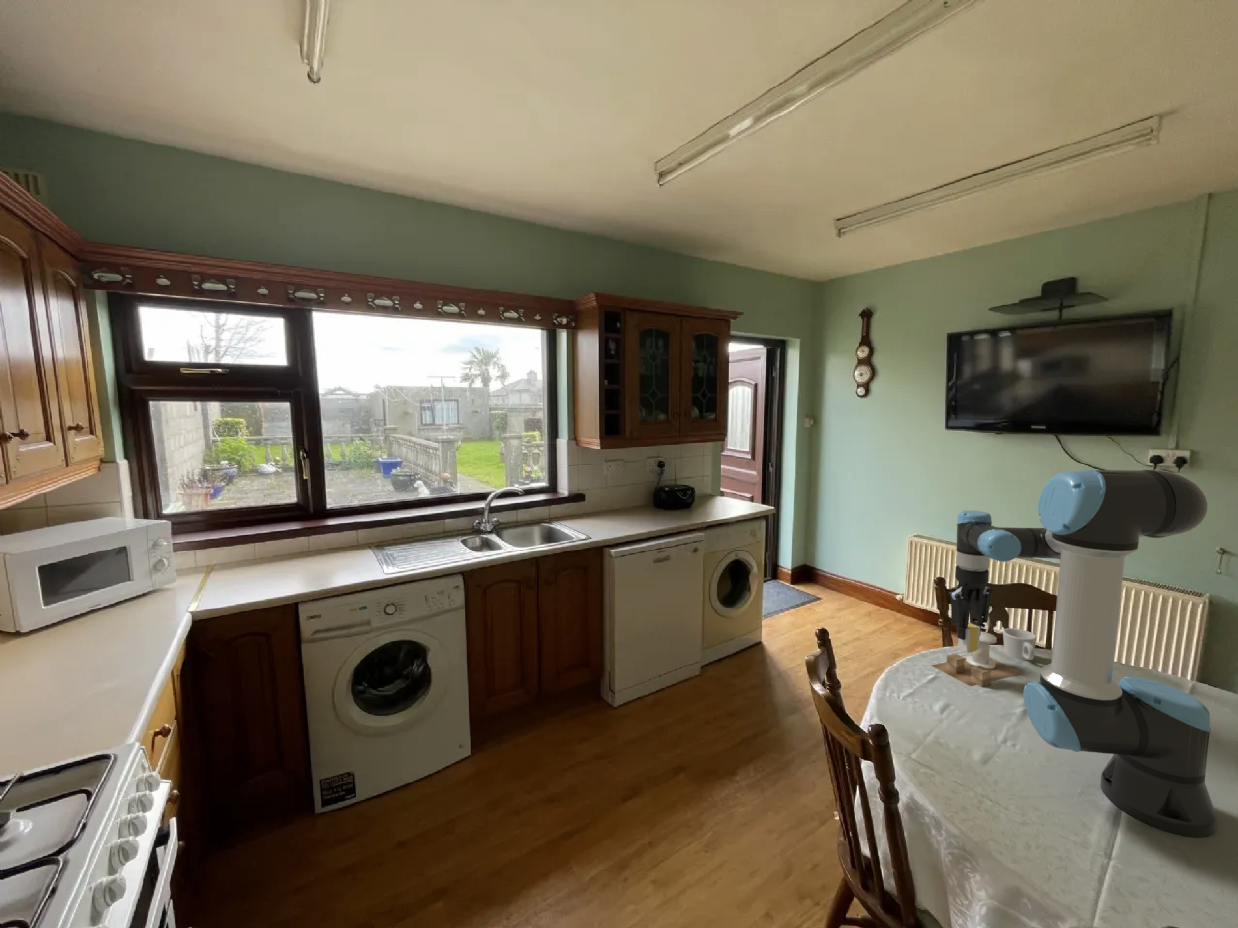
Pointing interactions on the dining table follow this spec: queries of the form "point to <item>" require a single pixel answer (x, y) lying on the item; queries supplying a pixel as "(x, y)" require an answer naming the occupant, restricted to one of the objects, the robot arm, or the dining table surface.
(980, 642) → the knob
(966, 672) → the board
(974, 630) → the yellow rectangular block
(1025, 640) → the cup
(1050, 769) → the dining table surface
